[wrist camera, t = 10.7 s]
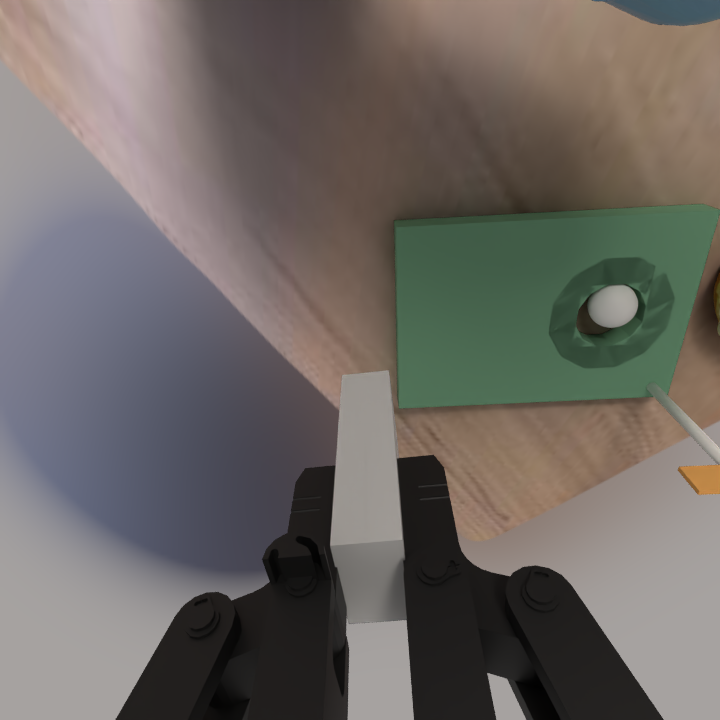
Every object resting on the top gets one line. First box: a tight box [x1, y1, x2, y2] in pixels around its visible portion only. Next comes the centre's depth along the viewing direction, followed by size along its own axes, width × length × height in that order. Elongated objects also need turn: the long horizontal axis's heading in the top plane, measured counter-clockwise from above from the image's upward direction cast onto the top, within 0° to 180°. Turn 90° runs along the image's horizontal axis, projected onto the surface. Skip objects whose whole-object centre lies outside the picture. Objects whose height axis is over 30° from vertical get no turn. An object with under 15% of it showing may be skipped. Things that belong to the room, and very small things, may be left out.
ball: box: [587, 284, 638, 328], centre depth 38 cm, size 3×3×3 cm
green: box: [394, 204, 720, 495], centre depth 34 cm, size 15×22×14 cm
